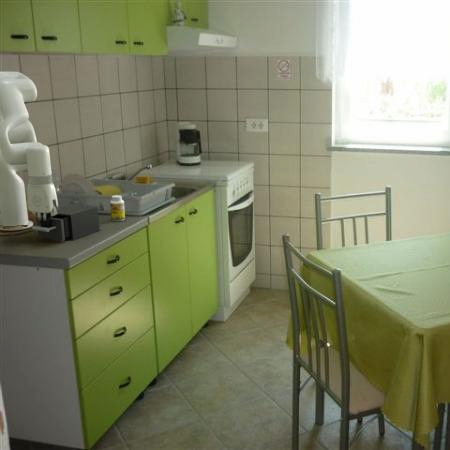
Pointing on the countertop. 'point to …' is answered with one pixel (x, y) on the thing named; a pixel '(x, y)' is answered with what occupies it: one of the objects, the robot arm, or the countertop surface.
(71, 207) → the dark grey box
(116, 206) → the supplement bottle
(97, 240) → the countertop surface
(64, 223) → the drawer
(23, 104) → the robot arm
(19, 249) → the countertop surface
